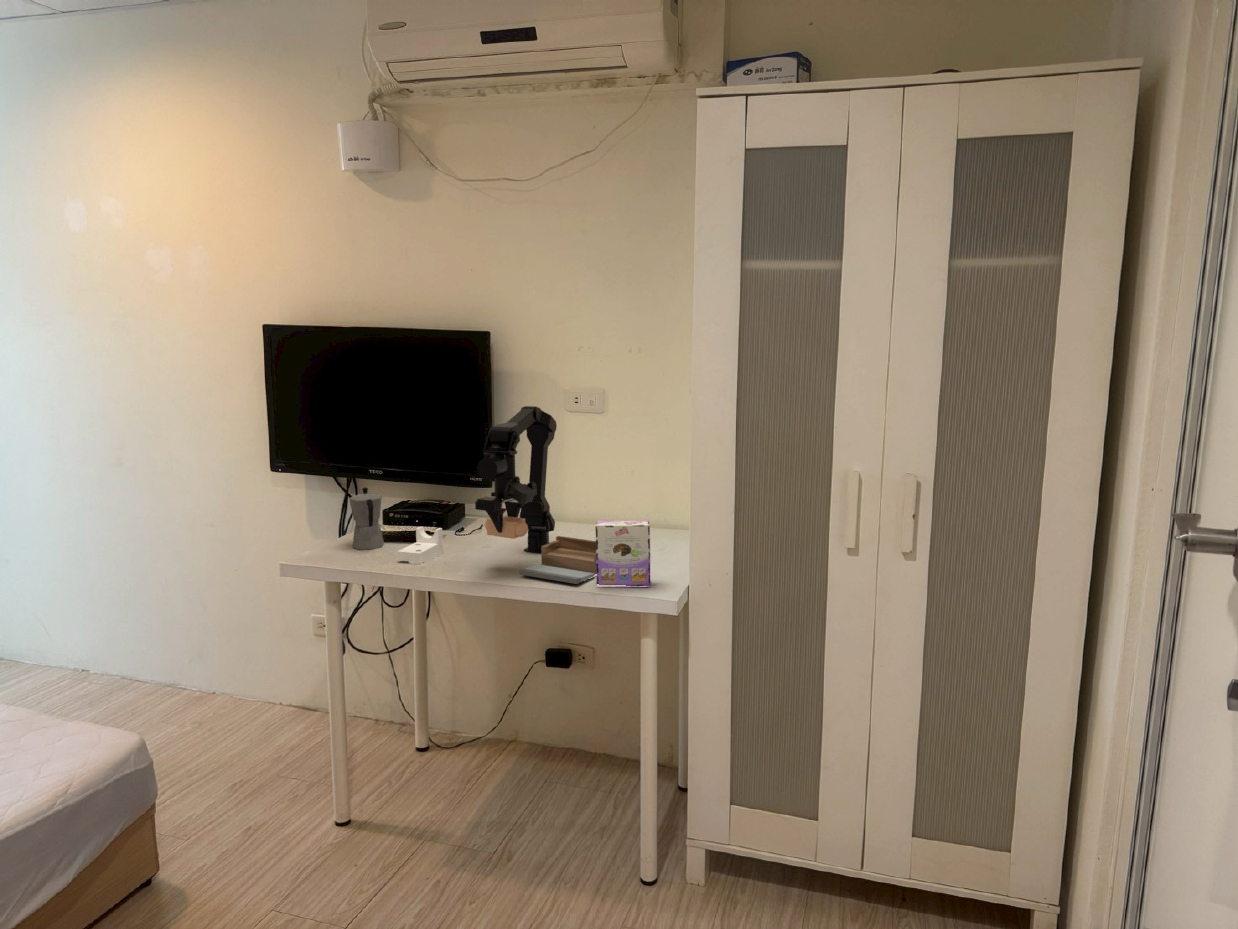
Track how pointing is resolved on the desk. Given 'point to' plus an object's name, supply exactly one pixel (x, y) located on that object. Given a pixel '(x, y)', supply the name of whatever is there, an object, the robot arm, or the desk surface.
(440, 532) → the bracket
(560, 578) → the panel
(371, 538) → the coffeepot
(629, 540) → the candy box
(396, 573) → the desk surface
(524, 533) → the dome topped block
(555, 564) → the tray
